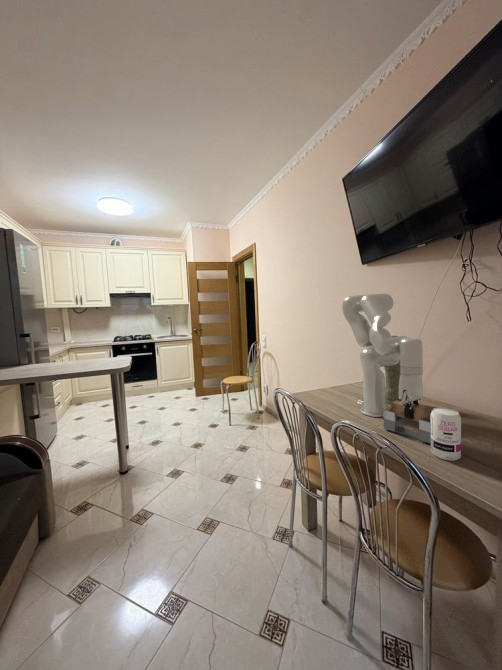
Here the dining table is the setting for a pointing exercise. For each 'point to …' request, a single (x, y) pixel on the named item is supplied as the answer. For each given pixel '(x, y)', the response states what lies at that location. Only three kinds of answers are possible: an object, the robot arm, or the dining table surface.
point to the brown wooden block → (419, 411)
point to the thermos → (392, 382)
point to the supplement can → (446, 434)
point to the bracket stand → (398, 425)
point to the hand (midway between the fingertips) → (412, 416)
